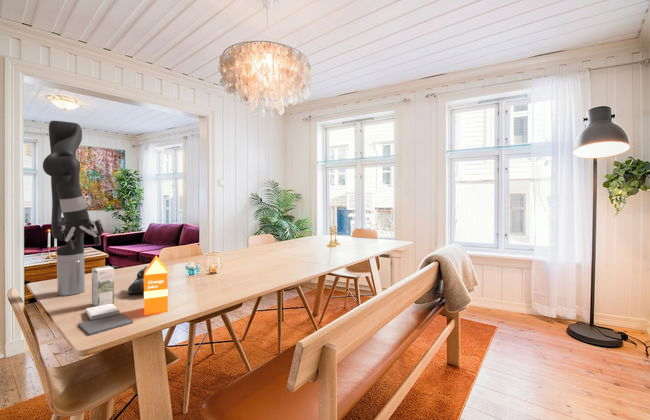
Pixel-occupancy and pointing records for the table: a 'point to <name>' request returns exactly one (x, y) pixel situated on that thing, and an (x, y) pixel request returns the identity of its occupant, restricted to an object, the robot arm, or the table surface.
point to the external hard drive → (102, 311)
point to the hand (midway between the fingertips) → (85, 247)
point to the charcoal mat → (104, 324)
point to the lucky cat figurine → (137, 283)
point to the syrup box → (102, 285)
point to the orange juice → (155, 288)
